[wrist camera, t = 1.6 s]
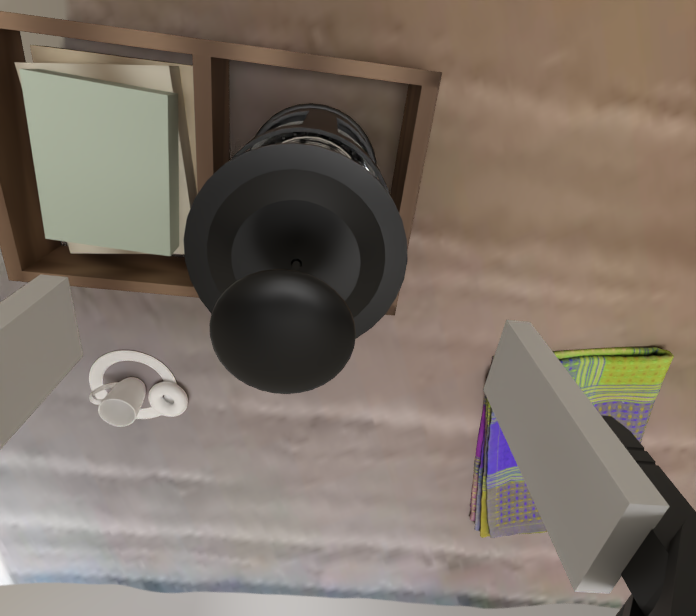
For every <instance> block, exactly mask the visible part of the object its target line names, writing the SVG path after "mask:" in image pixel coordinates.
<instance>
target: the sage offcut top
mask: <svg viewBox="0 0 696 616" xmlns="http://www.w3.org/2000/svg"><path fill="white" fill-rule="evenodd" d="M19 71H20V78H21V84H22V91H23V97H24V104H25V110H26V116H27V123H28V129H29V136H30V142H31V149H32V155H33V162H34V168H35V174H36V181H37V187H38V194H39V200H40V207H41V213H42V220H43V226H44V232H45V239H51V240H58V241H65V242H73V243H80V244H87V245H94V246H101V247H108V248H115V249H122V250H129V251H136V252H143V253H150V254H157V255H164V256H171V255H172V254H173V253H174V252H175V250H176V249H177V248H178V247H179V145H178V94H177V93H172V92H166V91H161V90H155V89H149V88H144V87H138V86H133V85H127V84H122V83H116V82H111V81H105V80H100V79H94V78H89V77H83V76H78V75H72V74H67V73H61V72H55V71H50V70H44V69H19Z"/></svg>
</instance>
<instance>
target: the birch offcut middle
mask: <svg viewBox="0 0 696 616" xmlns="http://www.w3.org/2000/svg"><path fill="white" fill-rule="evenodd" d="M14 63H15V66H16V70H17V73H18V76H19V80H20V83H21V78H20V71H19V69H44V70H50V71H55V72H61V73H67V74H72V75H78V76H83V77H89V78H94V79H100V80H105V81H111V82H116V83H122V84H127V85H133V86H138V87H144V88H149V89H155V90H161V91H166V92H172V93H177V94H178V145H179V247H178V248H177V249H176V250H175V252H174V253H173V254H184V240H183V239H184V233H185V226H186V220H187V216H188V214H189V211H190V209H191V206H192V204H193V201H194V199H195V197H196V196H197V190H196V182H195V175H194V168H193V161H192V154H191V147H190V140H189V133H188V126H187V119H186V112H185V104H184V97H183V90H182V83H181V76H180V69H179V66H162V65H114V64H67V63H20V62H14ZM21 87H22V84H21ZM67 243H68V247H69V250H70V253H95V254H150V253H143V252H136V251H129V250H122V249H115V248H108V247H101V246H94V245H87V244H80V243H73V242H67Z"/></svg>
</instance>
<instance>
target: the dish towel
mask: <svg viewBox="0 0 696 616" xmlns="http://www.w3.org/2000/svg"><path fill="white" fill-rule="evenodd" d="M553 353H554V354H555V356H556V357H557V358H558V359H559V361H560V362H561V363H562V365H563V366H564V367H565V369H566V370H567V371H568V373H569V374H570V375H571V377H572V378H573V379H574V381H575V382H576V383H577V385H578V386H579V387H580V389H581V390H582V391H583V393H584V394H585V395H586V396H587V398H588V399H589V400H590V402H591V403H592V404H593V406H594V407H595V408H596V410H597V411H598V412H599V414H600V415H604V416H612V417H613V418H614V419H616V420H617V421H618V422H619V423H621V424H622V425H623V426H625V427H626V428H627V429H628V430H630V431H631V432H632V434H633V435H634V436H635V437H636V439H637V440H638V441H639V442H640V443H641V441H642V437H643V435H644V431H645V428H646V425H647V423H648V420H649V417H650V414H651V410H652V408H653V404H654V402H655V399H656V397H657V395H658V393H659V391H660V388H661V385H662V382H663V379H664V377H665V374H666V372H667V371H668V368H669V366H670V364H671V361H672V359H673V357H674V356H673V354H672V353H671V352H670V351H668V350H663V349H660V348H657V347H652V348H635V347H615V348H598V349H581V350H564V351H554V352H553ZM492 359H494V356H492ZM470 507H471V514H470V520H471V521H475V528H474V529H475V530H476V531H480V536H481V537H482V538H483V537H487V536H490V537H491V538H495V537H501V536H510V535H515V534H531V533H543V532H547V529H546V527H545V525H544V523H543V521H542V518H541V516H540V514H539V512H538V510H537V507H536V505H535V503H534V501H533V499H532V496H531V494H530V492H529V490H528V487H527V485H526V483H525V481H524V479H523V476H522V474H521V472H520V470H519V468H518V465H517V463H516V461H515V459H514V457H513V454H512V452H511V450H510V448H509V445H508V443H507V441H506V439H505V437H504V434H503V432H502V430H501V428H500V426H499V423H498V421H497V419H496V417H495V415H494V412H493V410H492V408H491V406H490V403H489V401H488V399H487V397H486V395H485V397H484V405H483V413H482V418H481V423H480V428H479V434H478V441H477V448H476V456H475V462H474V476H473V485H472V493H471V505H470Z"/></svg>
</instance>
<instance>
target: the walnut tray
mask: <svg viewBox="0 0 696 616" xmlns="http://www.w3.org/2000/svg"><path fill="white" fill-rule="evenodd" d="M20 31H25V32H31V33H39V34H46V35H53V36H61V37H68V38H76V39H83V40H90V41H98V42H105V43H112V44H120V45H127V46H134V47H142V48H149V49H156V50H164V51H171V52H179V53H186V54H192V60H193V85H194V111H195V137H196V163H197V189H198V193H199V191H200V190H201V188H202V187H203V185H204V184H205V182H206V181H207V180H208V179H209V178H210V177H211V176H212V175H213V174H214V173H215V172H216V171H218V170H219V169H220V168H221V167H222V166H223V165H224V164H225V163H227V162H228V161H230V154H229V59H230V60H237V61H245V62H252V63H259V64H267V65H274V66H281V67H289V68H296V69H304V70H311V71H318V72H326V73H333V74H340V75H348V76H355V77H362V78H370V79H377V80H384V81H392V82H399V83H406V84H409V86H408V92H407V98H406V104H405V110H404V116H403V122H402V128H401V134H400V140H399V146H398V152H397V158H396V164H395V170H394V177H393V183H392V189H391V195H390V196H391V197H392V199H393V201H394V203H395V205H396V208H397V210H398V212H399V214H400V216H401V218H402V221H403V226H404V230H405V234H406V238H407V250H408V244H409V239H410V234H411V229H412V224H413V219H414V214H415V209H416V203H417V198H418V193H419V188H420V183H421V178H422V173H423V167H424V162H425V157H426V152H427V147H428V142H429V137H430V132H431V126H432V121H433V116H434V111H435V106H436V101H437V96H438V90H439V85H440V80H441V75H442V72H435V71H428V70H421V69H414V68H407V67H399V66H392V65H385V64H378V63H371V62H363V61H356V60H349V59H342V58H335V57H328V56H320V55H313V54H306V53H299V52H292V51H284V50H277V49H270V48H263V47H256V46H248V45H241V44H234V43H227V42H220V41H212V40H205V39H198V38H191V37H184V36H177V35H169V34H162V33H155V32H148V31H141V30H133V29H126V28H119V27H112V26H105V25H97V24H90V23H83V22H76V21H69V20H62V19H54V18H47V17H40V16H32V15H25V14H18V13H11V12H3V11H0V247H1V251H2V255H3V259H4V263H5V267H6V270H7V274H8V278H9V280H11V281H22V282H30V281H32V280H33V279H35V278H36V277H37V276H39V275H51V276H61V277H68V280H69V285H70V286H77V287H88V288H99V289H110V290H121V291H132V292H143V293H154V294H165V295H176V296H187V297H198V298H199V296H198V294H197V292H196V290H195V288H194V286H193V284H192V282H191V280H190V277H189V273H188V270H187V266H186V262H185V257H174V256H164V255H154V254H95V253H70V250H69V247H68V246H62V245H61V242H60V241H58V240H51V239H45V232H44V226H43V220H42V213H41V207H40V200H39V194H38V187H37V181H36V174H35V168H34V162H33V155H32V149H31V142H30V136H29V129H28V123H27V116H26V110H25V104H24V97H23V91H22V87H21V83H20V80H19V76H18V73H17V70H16V66H15V63H14V62H20V63H26V62H25V56H24V51H23V46H22V41H21V36H20ZM399 291H400V290H399ZM398 296H399V293H398V295H397V297H396V299H395V301H394V302H393V304H392V305H391V307H390V308H389V310H388V311H387V313H386V314H385V315H395V311H396V306H397V301H398Z"/></svg>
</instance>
